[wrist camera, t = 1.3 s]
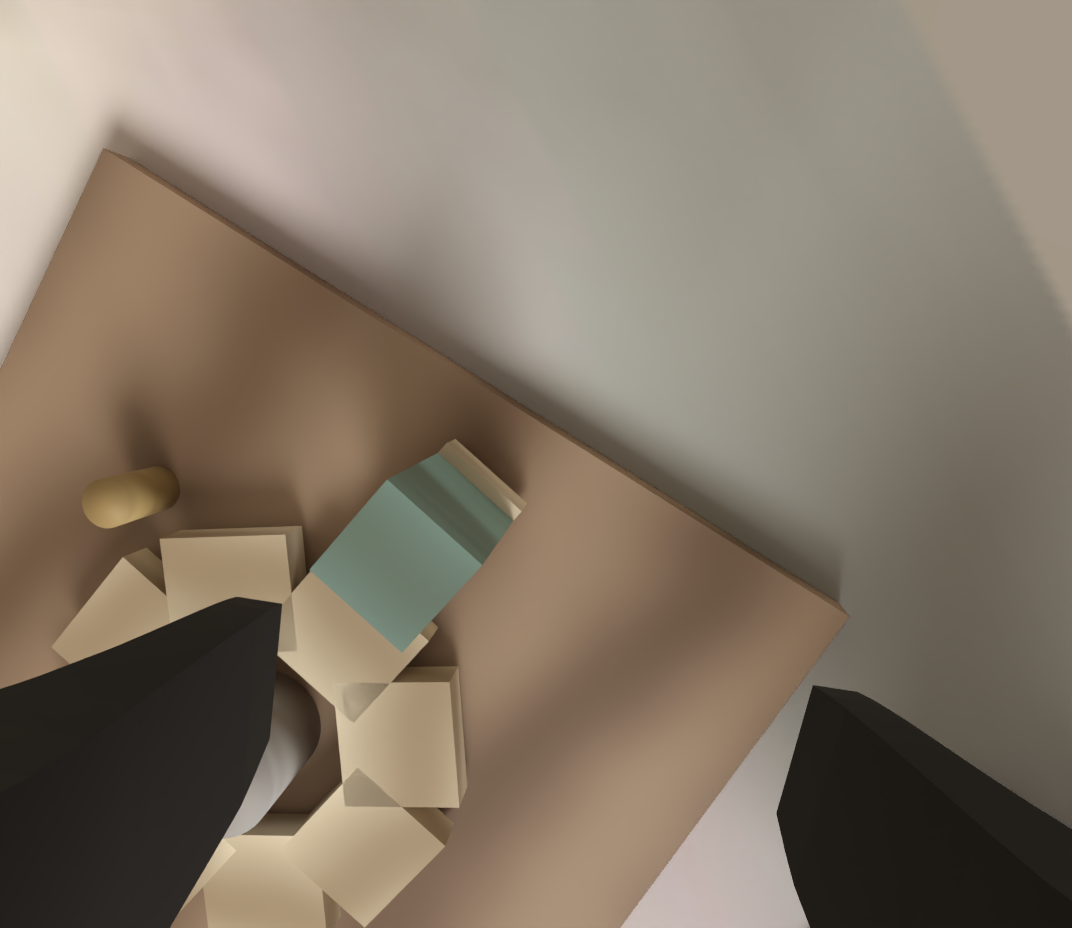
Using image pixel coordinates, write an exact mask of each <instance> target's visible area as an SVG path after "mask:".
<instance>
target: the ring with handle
mask: <svg viewBox="0 0 1072 928" xmlns="http://www.w3.org/2000/svg"><path fill="white" fill-rule="evenodd" d="M526 505H527V503H526V502H525V501H524V500H523V499H522V498H521V497H520V496H518V495H517V494H516V493H515V492H514V491H513V490H512V489H511V488H510V487H508V486H507V485H506V484H505V483H504V482H503V481H502V480H501V479H500V478H498V477H497V476H496V475H495V474H494V473H493V472H492V471H491V470H490V469H488V468H487V467H486V466H485V465H484V464H483V463H482V462H481V461H480V460H478V459H477V458H476V457H475V456H474V455H473V454H472V453H471V452H470V451H468V450H467V449H466V448H465V447H464V446H463V445H462V444H461V443H460V442H458V441H457V440H456V439H454V440H452V441H450V442H448V443H446V444H445V445H444V447H443V448H442V449H441V450H440V451H439V452H438V453H437V454H435V455H433V456H431V457H429V458H427V459H425V460H423V461H421V462H419V463H418V464H416V465H414V466H412V467H410V468H408V469H406V470H404V471H402V472H400V473H398V474H397V475H395V476H393V477H391V478H389V479H387V480H386V481H385V482H384V484H383V485H382V486H381V487H380V488H379V489H378V491H377V492H376V493H375V494H374V495H373V496H372V498H371V499H370V500H369V501H368V502H367V503H366V505H365V506H364V507H363V508H362V509H361V510H360V512H359V513H358V514H357V515H356V516H355V517H354V518H353V520H352V521H351V522H350V523H349V524H348V525H347V527H346V528H345V529H344V530H343V531H342V532H341V534H340V535H339V536H338V537H337V538H336V539H335V541H334V542H333V543H332V544H331V545H330V546H329V548H328V549H327V550H326V551H325V552H324V553H323V555H322V556H321V557H320V558H319V559H318V560H317V562H316V563H315V564H314V565H313V566H312V567H311V569H310V572H309V574H308V575H307V572H306V562H305V552H304V542H303V532H302V526H283V527H254V528H226V529H197V530H180V531H178V532H175V533H173V534H170V535H168V536H165V537H163V538H160V547H161V554H162V561H161V560H160V559H159V558H158V557H157V556H155V555H154V554H153V553H152V552H151V551H150V550H149V549H148V548H144V549H142V550H139V551H137V552H134V553H132V554H129V555H127V556H124V557H123V558H122V559H121V560H120V561H119V563H118V564H117V565H116V566H115V568H114V569H113V570H112V571H111V573H110V574H109V575H108V576H107V578H106V579H105V580H104V581H103V583H102V584H101V585H100V586H99V588H98V589H97V590H96V591H95V593H94V594H93V595H92V596H91V598H90V599H89V600H88V601H87V603H86V604H85V605H84V607H83V608H82V609H81V610H80V612H79V613H78V614H77V615H76V617H75V618H74V619H73V620H72V622H71V623H70V624H69V625H68V627H67V628H66V629H65V630H64V632H63V633H62V634H61V635H60V637H59V638H58V639H57V640H56V642H55V643H54V644H53V645H52V648H53V649H54V650H55V651H56V652H57V653H58V654H59V655H61V656H62V657H63V658H64V659H65V660H66V661H67V662H68V663H69V664H71V663H74V662H77V661H79V660H82V659H84V658H87V657H90V656H92V655H95V654H98V653H100V652H103V651H105V650H108V649H111V648H113V647H116V646H118V645H120V644H123V643H125V642H127V641H130V640H132V639H134V638H137V637H139V636H141V635H144V634H146V633H148V632H151V631H153V630H155V629H158V628H160V627H162V626H165V625H167V624H169V623H172V622H174V621H176V620H178V619H181V618H183V617H185V616H188V615H190V614H192V613H194V612H197V611H199V610H201V609H204V608H206V607H209V606H211V605H213V604H216V603H219V602H221V601H224V600H227V599H230V598H233V597H242V598H249V599H255V600H262V601H268V602H275V603H281V604H282V612H281V623H280V634H279V645H278V656H279V657H280V658H281V659H282V660H283V661H285V662H286V663H287V664H288V665H289V666H290V667H291V668H292V669H293V670H295V671H296V672H297V673H298V674H299V675H300V676H301V677H302V678H304V679H305V680H306V681H307V682H308V683H309V684H310V685H311V686H312V687H314V688H315V689H316V690H317V691H318V692H319V693H320V694H321V695H322V696H324V697H325V698H326V699H327V700H328V701H329V702H330V703H331V704H333V705H334V706H335V711H336V721H337V731H338V742H339V752H340V762H341V772H342V779H341V780H340V781H339V782H338V783H337V784H336V786H335V787H334V788H333V789H332V790H331V791H330V792H329V793H328V794H327V795H326V796H325V797H324V798H323V799H322V801H321V802H320V803H319V804H318V805H317V806H316V807H315V808H314V809H313V810H312V811H311V812H310V813H309V814H265V815H264V817H263V818H262V819H261V820H260V821H259V822H258V823H257V824H256V826H254V827H253V828H252V829H250V830H249V831H247V832H245V833H244V834H241V835H239V836H236V837H232V838H225V839H222V840H221V842H220V844H219V845H218V847H217V849H216V851H215V852H214V854H213V856H212V857H211V859H210V861H209V863H208V864H207V866H206V868H205V869H204V871H203V873H202V874H201V876H200V878H199V879H198V881H197V883H196V884H195V886H194V888H193V890H192V891H191V893H190V895H189V896H188V898H187V900H186V901H185V903H184V905H183V906H182V908H181V910H182V909H183V908H184V907H185V906H186V905H187V904H188V903H189V901H190V900H191V899H192V898H193V897H194V896H195V895H196V894H197V893H198V892H199V891H200V890H201V888H202V887H203V890H204V898H205V906H206V914H207V922H208V928H335V926H336V924H337V922H338V920H339V918H340V916H341V909H340V906H341V907H342V908H343V909H344V910H345V911H347V912H348V913H349V914H350V915H351V916H352V917H353V918H354V919H355V920H357V921H358V922H359V923H360V924H361V925H362V926H363V927H364V928H365V927H366V926H367V925H368V924H369V923H370V922H371V921H372V920H373V919H374V918H375V917H376V916H377V915H378V914H379V913H380V912H381V911H382V910H383V909H384V908H385V907H386V906H387V905H388V904H389V903H390V902H391V901H392V900H393V898H394V897H395V896H396V895H397V894H398V893H399V892H400V891H401V890H402V889H403V888H404V887H405V886H406V885H407V884H408V883H409V882H410V881H411V880H412V879H413V878H414V877H415V876H416V875H417V874H418V873H419V872H420V871H421V870H422V869H423V868H424V867H425V866H426V865H427V864H428V863H429V862H430V861H431V860H432V859H433V858H434V857H435V856H436V855H437V854H438V853H439V852H440V851H441V850H442V849H443V848H444V847H445V846H446V843H447V841H448V838H449V835H450V833H451V830H452V827H453V825H454V823H453V822H452V821H451V820H450V819H449V818H448V817H446V816H445V815H444V814H443V813H442V812H441V811H440V810H439V809H438V808H436V807H441V808H459V807H460V805H461V802H462V799H463V797H464V794H465V791H466V789H467V775H466V762H465V748H464V735H463V722H462V709H461V696H460V683H459V669H458V666H443V667H406V666H407V664H408V663H409V662H410V661H411V660H412V659H413V658H414V657H415V656H416V655H417V654H418V653H419V651H420V650H421V649H422V648H423V647H424V646H425V645H426V644H427V643H428V642H429V640H430V639H431V637H432V636H433V635H434V633H435V632H436V630H437V629H438V626H437V625H435V624H434V623H433V622H432V620H433V618H434V617H435V616H436V615H437V614H438V613H439V612H440V611H441V610H442V609H443V608H444V606H445V605H446V604H447V603H448V602H449V601H450V600H451V599H452V598H453V597H454V595H455V594H456V593H457V592H458V591H459V590H460V589H461V588H462V587H463V586H464V585H465V583H466V582H467V581H468V580H469V579H470V578H471V577H472V576H473V575H474V574H475V573H476V571H477V570H478V569H479V568H480V567H481V566H482V565H483V563H484V562H485V561H486V559H487V558H488V556H489V555H490V553H491V552H492V551H493V549H494V548H495V546H496V545H497V543H498V542H499V541H500V539H501V538H502V536H503V535H504V533H505V532H506V531H507V529H508V528H509V526H510V525H511V523H512V522H513V521H514V519H515V518H516V517H517V516H518V515H519V514H520V513H521V512H522V510H523V509H524V508H525V506H526ZM181 910H180V911H181Z"/></svg>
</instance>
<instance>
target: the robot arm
mask: <svg viewBox="0 0 1072 928" xmlns="http://www.w3.org/2000/svg"><path fill="white" fill-rule="evenodd" d="M281 612H282V604H281V603H275V602H268V601H262V600H255V599H249V598H242V597H233V598H230V599H227V600H224V601H221V602H219V603H216V604H213V605H211V606H209V607H206V608H204V609H201V610H199V611H197V612H194V613H192V614H190V615H188V616H185V617H183V618H181V619H178V620H176V621H174V622H172V623H169V624H167V625H165V626H162V627H160V628H158V629H155V630H153V631H151V632H148V633H146V634H144V635H141V636H139V637H137V638H134V639H132V640H130V641H127V642H125V643H123V644H120V645H118V646H116V647H113V648H111V649H108V650H105V651H103V652H100V653H98V654H95V655H92V656H90V657H87V658H84V659H82V660H79V661H77V662H74V663H71V664H69V665H66V666H64V667H61V668H58V669H56V670H53V671H51V672H48V673H45V674H43V675H40V676H37V677H34V678H31V679H29V680H26V681H23V682H20V683H17V684H14V685H11V686H8V687H4V688H1V689H0V928H170V927H171V925H172V923H173V922H174V920H175V918H176V917H177V915H178V913H179V912H180V910H181V908H182V906H183V905H184V903H185V901H186V900H187V898H188V896H189V895H190V893H191V891H192V890H193V888H194V886H195V884H196V883H197V881H198V879H199V878H200V876H201V874H202V873H203V871H204V869H205V868H206V866H207V864H208V863H209V861H210V859H211V857H212V856H213V854H214V852H215V851H216V849H217V847H218V845H219V844H220V842H221V840H222V839H223V837H224V835H225V833H226V832H227V830H228V828H229V826H230V825H231V823H232V821H233V820H234V818H235V816H236V814H237V813H238V811H239V809H240V807H241V805H242V803H243V801H244V799H245V796H246V794H247V792H248V789H249V787H250V785H251V783H252V780H253V778H254V776H255V773H256V771H257V769H258V766H259V764H260V761H261V759H262V756H263V754H264V752H265V749H266V747H267V744H268V742H269V739H270V731H271V720H272V710H273V699H274V688H275V677H276V666H277V655H278V645H279V634H280V623H281ZM777 818H778V822H779V826H780V831H781V835H782V840H783V844H784V848H785V853H786V856H787V860H788V864H789V868H790V872H791V875H792V879H793V883H794V886H795V889H796V892H797V894H798V897H799V900H800V902H801V905H802V907H803V910H804V913H805V915H806V918H807V920H808V923H809V925H810V928H1072V829H1070V828H1069V827H1067V826H1065V825H1064V824H1062V823H1061V822H1059V821H1057V820H1056V819H1054V818H1053V817H1051V816H1049V815H1048V814H1046V813H1045V812H1043V811H1041V810H1040V809H1038V808H1036V807H1035V806H1033V805H1032V804H1030V803H1029V802H1027V801H1026V800H1024V799H1022V798H1021V797H1019V796H1018V795H1016V794H1015V793H1013V792H1012V791H1010V790H1009V789H1007V788H1006V787H1004V786H1002V785H1001V784H999V783H998V782H996V781H995V780H993V779H992V778H990V777H989V776H987V775H986V774H984V773H983V772H981V771H980V770H979V769H977V768H976V767H974V766H973V765H971V764H970V763H968V762H967V761H965V760H964V759H962V758H961V757H959V756H958V755H956V754H955V753H953V752H952V751H950V750H949V749H948V748H946V747H945V746H943V745H942V744H940V743H939V742H937V741H936V740H934V739H933V738H931V737H930V736H928V735H927V734H925V733H924V732H922V731H921V730H919V729H918V728H916V727H915V726H913V725H912V724H910V723H909V722H907V721H906V720H904V719H903V718H901V717H900V716H898V715H897V714H895V713H893V712H892V711H890V710H889V709H887V708H886V707H884V706H882V705H881V704H879V703H877V702H875V701H874V700H872V699H870V698H868V697H866V696H864V695H862V694H860V693H858V692H854V691H847V690H841V689H834V688H828V687H821V686H815V685H813V687H812V691H811V694H810V698H809V701H808V705H807V708H806V712H805V715H804V719H803V722H802V726H801V729H800V733H799V736H798V740H797V743H796V747H795V750H794V754H793V757H792V761H791V764H790V768H789V771H788V775H787V778H786V782H785V785H784V789H783V792H782V796H781V799H780V803H779V806H778V810H777Z"/></svg>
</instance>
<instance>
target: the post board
mask: <svg viewBox="0 0 1072 928" xmlns="http://www.w3.org/2000/svg"><path fill="white" fill-rule="evenodd" d="M454 439H456V440H457V441H458V442H460V443H461V444H462V445H463V446H464V447H465V448H466V449H467V450H468V451H470V452H471V453H472V454H473V455H474V456H475V457H476V458H477V459H478V460H480V461H481V462H482V463H483V464H484V465H485V466H486V467H487V468H488V469H490V470H491V471H492V472H493V473H494V474H495V475H496V476H497V477H498V478H500V479H501V480H502V481H503V482H504V483H505V484H506V485H507V486H508V487H510V488H511V489H512V490H513V491H514V492H515V493H516V494H517V495H518V496H520V497H521V498H522V499H523V500H524V501H525V502H526V503H527V505H526V506H525V508H524V509H523V510H522V512H521V513H520V514H519V515H518V516H517V517H516V518H515V519H514V521H513V522H512V523H511V525H510V526H509V528H508V529H507V531H506V532H505V533H504V535H503V536H502V538H501V539H500V541H499V542H498V543H497V545H496V546H495V548H494V549H493V551H492V552H491V553H490V555H489V556H488V558H487V559H486V561H485V562H484V563H483V565H482V566H481V567H480V568H479V569H478V570H477V571H476V573H475V574H474V575H473V576H472V577H471V578H470V579H469V580H468V581H467V582H466V583H465V585H464V586H463V587H462V588H461V589H460V590H459V591H458V592H457V593H456V594H455V595H454V597H453V598H452V599H451V600H450V601H449V602H448V603H447V604H446V605H445V606H444V608H443V609H442V610H441V611H440V612H439V613H438V614H437V615H436V616H435V617H434V618H433V620H432V622H433V623H434V624H435V625H437V626H438V629H437V630H436V632H435V633H434V635H433V636H432V637H431V639H430V640H429V642H428V643H427V644H426V645H425V646H424V647H423V648H422V649H421V650H420V651H419V653H418V654H417V655H416V656H415V657H414V658H413V659H412V660H411V661H410V662H409V663H408V664H407V666H406V667H443V666H458V669H459V683H460V696H461V709H462V722H463V735H464V748H465V762H466V775H467V789H466V791H465V794H464V797H463V799H462V802H461V805H460V807H459V808H441V807H436V808H438V809H439V810H440V811H441V812H442V813H443V814H444V815H445V816H446V817H448V818H449V819H450V820H451V821H452V822H453V823H454V825H453V827H452V830H451V833H450V835H449V838H448V841H447V843H446V846H445V847H444V848H443V849H442V850H441V851H440V852H439V853H438V854H437V855H436V856H435V857H434V858H433V859H432V860H431V861H430V862H429V863H428V864H427V865H426V866H425V867H424V868H423V869H422V870H421V871H420V872H419V873H418V874H417V875H416V876H415V877H414V878H413V879H412V880H411V881H410V882H409V883H408V884H407V885H406V886H405V887H404V888H403V889H402V890H401V891H400V892H399V893H398V894H397V895H396V896H395V897H394V898H393V900H392V901H391V902H390V903H389V904H388V905H387V906H386V907H385V908H384V909H383V910H382V911H381V912H380V913H379V914H378V915H377V916H376V917H375V918H374V919H373V920H372V921H371V922H370V923H369V924H368V925H367V926H366V927H365V928H620V927H621V926H622V925H623V923H624V922H625V920H626V919H627V918H628V916H629V915H630V914H631V912H632V911H633V910H634V908H635V907H636V906H637V904H638V903H639V901H640V900H641V899H642V897H643V896H644V895H645V893H646V892H647V891H648V889H649V888H650V887H651V885H652V884H653V883H654V881H655V880H656V878H657V877H658V876H659V874H660V873H661V872H662V870H663V869H664V868H665V866H666V865H667V864H668V862H669V861H670V859H671V858H672V857H673V855H674V854H675V853H676V851H677V850H678V849H679V847H680V846H681V845H682V843H683V842H684V840H685V839H686V838H687V836H688V835H689V834H690V832H691V831H692V830H693V828H694V827H695V826H696V824H697V823H698V822H699V820H700V819H701V817H702V816H703V815H704V813H705V812H706V811H707V809H708V808H709V807H710V805H711V804H712V803H713V801H714V800H715V798H716V797H717V796H718V794H719V793H720V792H721V790H722V789H723V788H724V786H725V785H726V784H727V782H728V781H729V780H730V778H731V777H732V775H733V774H734V773H735V771H736V770H737V769H738V767H739V766H740V765H741V763H742V762H743V761H744V759H745V758H746V756H747V755H748V754H749V752H750V751H751V750H752V748H753V747H754V746H755V744H756V743H757V742H758V740H759V739H760V737H761V736H762V735H763V733H764V732H765V731H766V729H767V728H768V727H769V725H770V724H771V723H772V721H773V720H774V719H775V717H776V716H777V714H778V713H779V712H780V710H781V709H782V708H783V706H784V705H785V704H786V702H787V701H788V700H789V698H790V697H791V695H792V694H793V693H794V691H795V690H796V689H797V687H798V686H799V685H800V683H801V682H802V681H803V679H804V678H805V676H806V675H807V674H808V672H809V671H810V670H811V668H812V667H813V666H814V664H815V663H816V662H817V660H818V659H819V658H820V656H821V655H822V653H823V652H824V651H825V649H826V648H827V647H828V645H829V644H830V643H831V641H832V640H833V639H834V637H835V636H836V634H837V633H838V632H839V630H840V629H841V628H842V626H843V625H844V624H845V622H846V621H847V620H848V618H849V617H850V616H849V615H848V614H847V613H846V611H845V610H844V609H843V608H842V606H841V605H840V604H839V603H837V602H836V601H834V600H832V599H831V598H829V597H828V596H826V595H824V594H823V593H821V592H820V591H818V590H817V589H815V588H813V587H812V586H810V585H809V584H807V583H805V582H804V581H802V580H801V579H799V578H797V577H796V576H794V575H793V574H791V573H789V572H788V571H786V570H785V569H783V568H781V567H780V566H778V565H777V564H775V563H773V562H772V561H770V560H769V559H767V558H765V557H764V556H762V555H761V554H759V553H758V552H756V551H754V550H753V549H751V548H750V547H748V546H746V545H745V544H743V543H742V542H740V541H738V540H737V539H735V538H734V537H732V536H730V535H729V534H727V533H726V532H724V531H722V530H721V529H719V528H718V527H716V526H714V525H713V524H711V523H710V522H708V521H706V520H705V519H703V518H702V517H700V516H698V515H697V514H695V513H694V512H692V511H691V510H689V509H687V508H686V507H684V506H683V505H681V504H679V503H678V502H676V501H675V500H673V499H671V498H670V497H668V496H667V495H665V494H663V493H662V492H660V491H659V490H657V489H655V488H654V487H652V486H651V485H649V484H647V483H646V482H644V481H643V480H641V479H639V478H638V477H636V476H635V475H633V474H632V473H630V472H628V471H627V470H625V469H624V468H622V467H620V466H619V465H617V464H616V463H614V462H612V461H611V460H609V459H608V458H606V457H604V456H603V455H601V454H600V453H598V452H596V451H595V450H593V449H592V448H590V447H588V446H587V445H585V444H584V443H582V442H580V441H579V440H577V439H576V438H574V437H573V436H571V435H569V434H568V433H566V432H565V431H563V430H561V429H560V428H558V427H557V426H555V425H553V424H552V423H550V422H549V421H547V420H545V419H544V418H542V417H541V416H539V415H537V414H536V413H534V412H533V411H531V410H529V409H528V408H526V407H525V406H523V405H521V404H520V403H518V402H517V401H515V400H513V399H512V398H510V397H509V396H507V395H506V394H504V393H502V392H501V391H499V390H498V389H496V388H494V387H493V386H491V385H490V384H488V383H486V382H485V381H483V380H482V379H480V378H478V377H477V376H475V375H474V374H472V373H470V372H469V371H467V370H466V369H464V368H462V367H461V366H459V365H458V364H456V363H454V362H453V361H451V360H450V359H448V358H447V357H445V356H443V355H442V354H440V353H439V352H437V351H435V350H434V349H432V348H431V347H429V346H427V345H426V344H424V343H423V342H421V341H419V340H418V339H416V338H415V337H413V336H411V335H410V334H408V333H407V332H405V331H403V330H402V329H400V328H399V327H397V326H395V325H394V324H392V323H391V322H389V321H388V320H386V319H384V318H383V317H381V316H380V315H378V314H376V313H375V312H373V311H372V310H370V309H368V308H367V307H365V306H364V305H362V304H360V303H359V302H357V301H356V300H354V299H352V298H351V297H349V296H348V295H346V294H344V293H343V292H341V291H340V290H338V289H336V288H335V287H333V286H332V285H330V284H328V283H327V282H325V281H324V280H322V279H321V278H319V277H317V276H316V275H314V274H313V273H311V272H309V271H308V270H306V269H305V268H303V267H301V266H300V265H298V264H297V263H295V262H293V261H292V260H290V259H289V258H287V257H285V256H284V255H282V254H281V253H279V252H277V251H276V250H274V249H273V248H271V247H269V246H268V245H266V244H265V243H263V242H262V241H260V240H258V239H257V238H255V237H254V236H252V235H250V234H249V233H247V232H246V231H244V230H242V229H241V228H239V227H238V226H236V225H234V224H233V223H231V222H230V221H228V220H226V219H225V218H223V217H222V216H220V215H218V214H217V213H215V212H214V211H212V210H210V209H209V208H207V207H206V206H204V205H203V204H201V203H199V202H198V201H196V200H195V199H193V198H191V197H190V196H188V195H187V194H185V193H183V192H182V191H180V190H179V189H177V188H175V187H174V186H172V185H171V184H169V183H167V182H166V181H164V180H163V179H161V178H159V177H158V176H156V175H155V174H153V173H151V172H150V171H148V170H147V169H145V168H143V167H142V166H140V165H139V164H137V163H136V162H134V161H132V160H131V159H129V158H127V157H125V156H122V155H119V154H117V153H114V152H112V151H109V150H106V149H104V148H103V151H102V153H101V155H100V157H99V159H98V161H97V164H96V166H95V168H94V170H93V172H92V174H91V176H90V179H89V181H88V183H87V185H86V187H85V189H84V191H83V194H82V196H81V198H80V200H79V202H78V204H77V207H76V209H75V211H74V213H73V215H72V217H71V219H70V222H69V224H68V226H67V228H66V230H65V232H64V234H63V237H62V239H61V241H60V243H59V245H58V247H57V250H56V252H55V254H54V256H53V258H52V260H51V262H50V265H49V267H48V269H47V271H46V273H45V275H44V277H43V280H42V282H41V284H40V286H39V288H38V290H37V293H36V295H35V297H34V299H33V301H32V303H31V305H30V308H29V310H28V312H27V314H26V316H25V318H24V320H23V323H22V325H21V327H20V329H19V331H18V333H17V336H16V338H15V340H14V342H13V344H12V346H11V348H10V351H9V353H8V355H7V357H6V359H5V361H4V363H3V366H2V368H1V370H0V689H1V688H4V687H8V686H11V685H14V684H17V683H20V682H23V681H26V680H29V679H31V678H34V677H37V676H40V675H43V674H45V673H48V672H51V671H53V670H56V669H58V668H61V667H64V666H66V665H69V663H68V662H67V661H66V660H65V659H64V658H63V657H62V656H61V655H59V654H58V653H57V652H56V651H55V650H54V649H53V648H52V645H53V644H54V643H55V642H56V640H57V639H58V638H59V637H60V635H61V634H62V633H63V632H64V630H65V629H66V628H67V627H68V625H69V624H70V623H71V622H72V620H73V619H74V618H75V617H76V615H77V614H78V613H79V612H80V610H81V609H82V608H83V607H84V605H85V604H86V603H87V601H88V600H89V599H90V598H91V596H92V595H93V594H94V593H95V591H96V590H97V589H98V588H99V586H100V585H101V584H102V583H103V581H104V580H105V579H106V578H107V576H108V575H109V574H110V573H111V571H112V570H113V569H114V568H115V566H116V565H117V564H118V563H119V561H120V560H121V559H122V558H123V557H124V556H127V555H129V554H132V553H134V552H137V551H139V550H142V549H144V548H148V549H149V550H150V551H151V552H152V553H153V554H154V555H155V556H157V557H158V558H159V559H160V560H161V561H162V554H161V547H160V538H163V537H165V536H168V535H170V534H173V533H175V532H178V531H180V530H197V529H226V528H254V527H283V526H302V532H303V542H304V552H305V562H306V572H307V575H308V574H309V572H310V569H311V567H312V566H313V565H314V564H315V563H316V562H317V560H318V559H319V558H320V557H321V556H322V555H323V553H324V552H325V551H326V550H327V549H328V548H329V546H330V545H331V544H332V543H333V542H334V541H335V539H336V538H337V537H338V536H339V535H340V534H341V532H342V531H343V530H344V529H345V528H346V527H347V525H348V524H349V523H350V522H351V521H352V520H353V518H354V517H355V516H356V515H357V514H358V513H359V512H360V510H361V509H362V508H363V507H364V506H365V505H366V503H367V502H368V501H369V500H370V499H371V498H372V496H373V495H374V494H375V493H376V492H377V491H378V489H379V488H380V487H381V486H382V485H383V484H384V482H385V481H386V480H387V479H389V478H391V477H393V476H395V475H397V474H398V473H400V472H402V471H404V470H406V469H408V468H410V467H412V466H414V465H416V464H418V463H419V462H421V461H423V460H425V459H427V458H429V457H431V456H433V455H435V454H437V453H438V452H439V451H440V450H441V449H442V448H443V447H444V445H445V444H446V443H448V442H450V441H452V440H454ZM341 779H342V772H341V762H340V752H339V742H338V731H337V721H336V711H335V706H334V705H333V704H331V703H330V702H329V701H328V700H327V699H326V698H325V697H324V696H322V695H321V694H320V693H319V692H318V691H317V690H316V689H315V688H314V687H312V686H311V685H310V684H309V683H308V682H307V681H306V680H305V679H304V678H302V677H301V676H300V675H299V674H298V673H297V672H296V671H295V670H293V669H292V668H291V667H290V666H289V665H288V664H287V663H286V662H285V661H283V660H282V659H281V658H280V657H279V656H278V655H277V666H276V677H275V688H274V699H273V710H272V720H271V731H270V739H269V742H268V744H267V747H266V749H265V752H264V754H263V756H262V759H261V761H260V764H259V766H258V769H257V771H256V773H255V776H254V778H253V780H252V783H251V785H250V787H249V789H248V792H247V794H246V796H245V799H244V801H243V803H242V805H241V807H240V809H239V811H238V813H237V814H236V816H235V818H234V820H233V821H232V823H231V825H230V826H229V828H228V830H227V832H226V833H225V835H224V837H223V839H225V838H232V837H236V836H239V835H241V834H244V833H245V832H247V831H249V830H250V829H252V828H253V827H254V826H256V824H257V823H258V822H259V821H260V820H261V819H262V818H263V817H264V815H265V814H309V813H310V812H311V811H312V810H313V809H314V808H315V807H316V806H317V805H318V804H319V803H320V802H321V801H322V799H323V798H324V797H325V796H326V795H327V794H328V793H329V792H330V791H331V790H332V789H333V788H334V787H335V786H336V784H337V783H338V782H339V781H340V780H341ZM340 909H341V916H340V918H339V920H338V922H337V924H336V926H335V928H364V927H363V926H362V925H361V924H360V923H359V922H358V921H357V920H355V919H354V918H353V917H352V916H351V915H350V914H349V913H348V912H347V911H345V910H344V909H343V908H342V907H341V906H340ZM170 928H208V922H207V914H206V906H205V898H204V890H203V887H202V888H201V890H200V891H199V892H198V893H197V894H196V895H195V896H194V897H193V898H192V899H191V900H190V901H189V903H188V904H187V905H186V906H185V907H184V908H183V909H182V910H181V911H180V912H179V913H178V915H177V917H176V918H175V920H174V922H173V923H172V925H171V927H170Z"/></svg>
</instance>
